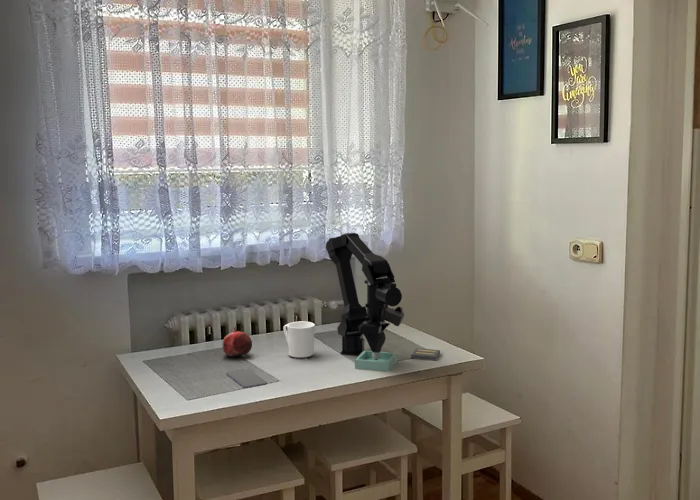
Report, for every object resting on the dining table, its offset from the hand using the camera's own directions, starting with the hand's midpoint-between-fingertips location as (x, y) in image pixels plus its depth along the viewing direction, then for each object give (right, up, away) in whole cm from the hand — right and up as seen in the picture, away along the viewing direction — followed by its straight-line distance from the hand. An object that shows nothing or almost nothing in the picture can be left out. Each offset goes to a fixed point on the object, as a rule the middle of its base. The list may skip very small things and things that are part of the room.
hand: (376, 349), depth 228 cm
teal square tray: (0, -5, +1) cm, 5 cm away
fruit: (-45, -4, +10) cm, 46 cm away
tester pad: (+17, -4, +10) cm, 20 cm away
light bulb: (0, -4, 0) cm, 4 cm away
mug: (-25, -4, +11) cm, 28 cm away
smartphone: (-38, -8, -12) cm, 41 cm away
